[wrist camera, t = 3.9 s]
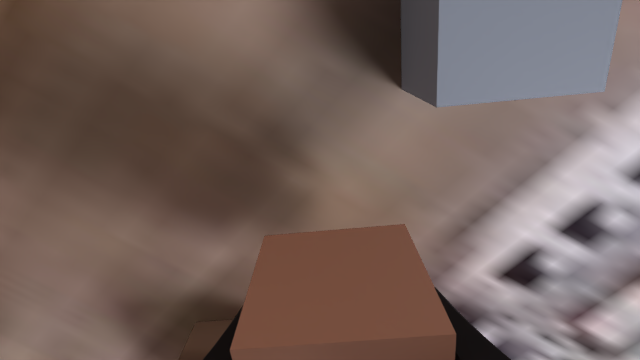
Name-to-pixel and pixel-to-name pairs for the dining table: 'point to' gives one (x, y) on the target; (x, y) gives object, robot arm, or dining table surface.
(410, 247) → the terracotta block
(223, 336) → the robot arm
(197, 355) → the walnut block
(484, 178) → the dining table surface
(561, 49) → the slate block
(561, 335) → the dining table surface
